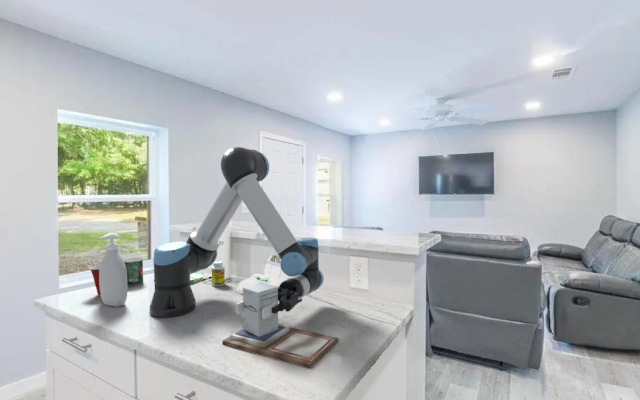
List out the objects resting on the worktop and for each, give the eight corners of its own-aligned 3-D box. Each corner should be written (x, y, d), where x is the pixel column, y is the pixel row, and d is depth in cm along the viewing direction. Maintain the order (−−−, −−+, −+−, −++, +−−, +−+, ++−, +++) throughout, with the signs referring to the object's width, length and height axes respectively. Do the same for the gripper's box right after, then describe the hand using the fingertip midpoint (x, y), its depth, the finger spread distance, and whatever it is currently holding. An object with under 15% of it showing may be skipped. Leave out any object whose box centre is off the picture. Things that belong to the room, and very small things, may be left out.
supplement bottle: (213, 287, 148) (213, 264, 148) (210, 284, 153) (209, 261, 153) (226, 285, 151) (226, 262, 151) (222, 282, 156) (222, 260, 156)
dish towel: (218, 276, 168) (218, 271, 168) (179, 289, 147) (179, 283, 147) (192, 272, 176) (191, 267, 176) (151, 284, 155) (151, 278, 155)
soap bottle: (89, 305, 127) (86, 233, 126) (111, 298, 135) (108, 230, 133) (112, 311, 121) (110, 235, 120) (134, 304, 128) (132, 232, 127)
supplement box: (242, 330, 98) (241, 287, 98) (263, 322, 104) (262, 281, 103) (258, 337, 93) (257, 292, 93) (279, 329, 99) (278, 286, 98)
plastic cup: (114, 288, 149) (113, 260, 148) (125, 292, 143) (125, 263, 142) (85, 294, 140) (84, 265, 140) (97, 299, 134) (95, 269, 133)
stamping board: (222, 344, 95) (222, 335, 95) (258, 323, 109) (258, 316, 109) (310, 368, 82) (310, 359, 82) (338, 341, 96) (338, 333, 96)
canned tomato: (120, 284, 154) (119, 260, 154) (137, 280, 161) (136, 257, 160) (129, 287, 150) (128, 262, 149) (146, 283, 156) (146, 259, 156)
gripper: (322, 305, 109) (282, 332, 89) (268, 295, 119) (221, 318, 99) (321, 281, 109) (281, 303, 89) (267, 274, 119) (220, 292, 99)
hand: (249, 311), depth 94 cm, fingers closed on supplement box, 8 cm apart
